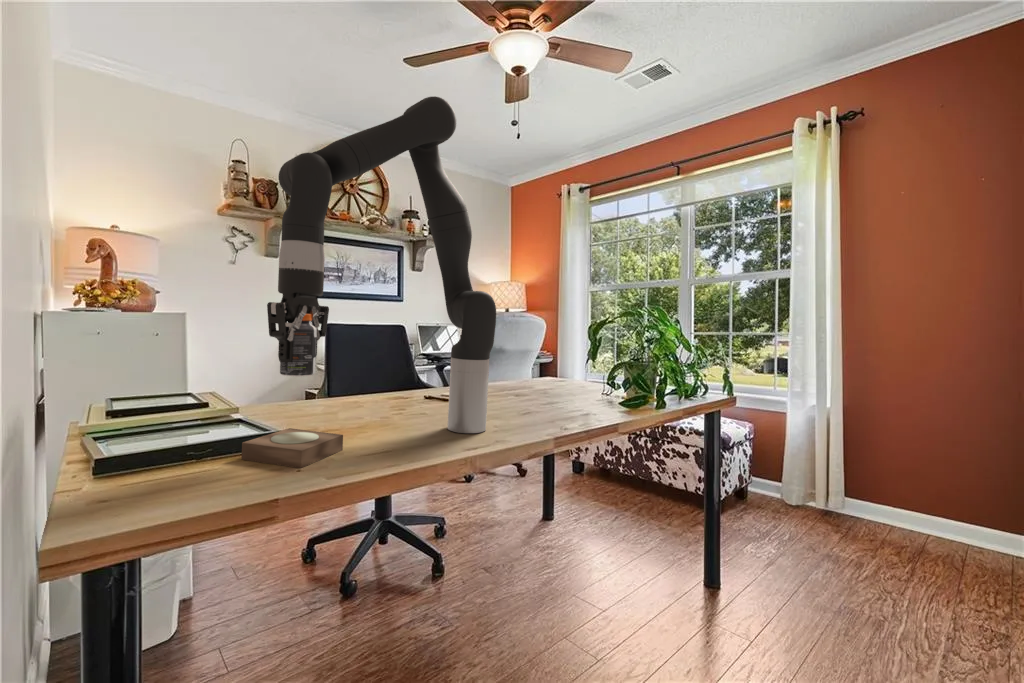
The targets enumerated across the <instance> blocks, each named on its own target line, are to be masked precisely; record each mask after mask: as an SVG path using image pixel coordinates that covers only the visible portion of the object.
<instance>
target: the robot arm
mask: <svg viewBox="0 0 1024 683" xmlns="http://www.w3.org/2000/svg"><path fill="white" fill-rule="evenodd" d="M456 128H457V116H456V112H455V110H454V108H453V106H452V105H451V104H450V103H449V102H448V101H447V100H446V99H445V98H442V97H439V96H427V97H425V98H423V99H421V100H419V101H417V102H416V103H414V104H412V105H411V106H409V107H408V108H406V109H405V111H404V113H402V114H401V115H400V116H398V117H395V118H393V119H390V120H388V121H385V122H383V123H381V124H378V125H374V126H373V127H372V126H371V127H370V128H366V129H363V130H361V131H358V132H356V133H352V134H350V135H348V136H345V137H341V138H340V139H337V140H335V141H333V142H331V143H329V144H327V145H326V146H324V147H323V148H321V149H319V150H318V149H317V150H316V151H313V152H304V153H303V152H302V153H300V154H298V155H296V156H294V157H292V158H291V159H289V160H287V161H286V162H284V163H283V164H282V166H281V167H280V169H279V171H278V182H279V186H280V187H281V189H282V190H283V192H284V193H286V194H287V195H288V196H289V204H288V207H287V209H285V210H284V211H283V212H284V213H283V214H282V218H281V237H280V238H281V239H280V241H281V242H280V248H279V253H278V274H277V275H278V277H277V278H278V279H277V292H278V293H279V294H282V298H281V300H280V302H277V301H276V302H274V301H273V302H271V301H269V302H267V303H266V307H267V309H266V310H267V323H268V334H269V337H270V338H275V339H276V340H277V341H278V354H277V356H278V360H279V362H285V363H290V362H292V360H293V342H291V341H292V340H293V337H294V335H295V331H296V330H298V329H299V328H300V325H301V322H302V320H303V317H304V316H305V315H306V314H311V315H312V321H311V324H312V325H313V326H315V327H316V329H317V340H316V357H317V355H318V341H319V340H320V338H325V337H326V336H327V330H328V329H327V328H328V321H329V313H330V308H329V306H327V305H320V304H319V301H318V300H319V297H322V296H323V295H324V284H325V283H324V282H325V260H326V259H325V258H326V257H325V249H324V248H325V246H324V244H325V243H324V242H325V220H326V216H327V212H328V210H329V204H330V201H331V200H330V199H331V195H332V192H333V191H332V189H333V187H334V186H335V185H337V184H339V183H342V182H345V181H349V180H351V179H354V178H356V177H359V176H360V175H361V176H362V175H363V174H365V173H368V172H370V171H371V170H374V169H376V168H378V167H380V166H382V165H383V164H385V163H387V162H388V161H390V160H392V159H395V158H396V157H398V156H399V155H401V154H403V153H405V152H408V153H409V156H410V159H411V161H412V165H413V167H414V170H415V171H414V172H415V173H416V176H417V177H416V178H417V180H418V186H419V188H420V193H421V196H422V199H423V203H424V208H425V211H426V217H427V222H428V225H429V230H430V233H431V236H432V237H431V238H432V240H433V244H434V249H435V254H436V258H437V261H438V265H439V269H440V274H441V278H442V285H443V293H444V294H443V295H444V301H445V306H446V312H447V315H448V318H449V320H450V322H451V324H453V325H454V326H455V327H456V328H459V329H461V333H460V338H459V340H458V342H456V343H455V344H453V345H452V346H451V348H450V350H451V352H450V353H451V354H450V369H449V370H450V372H449V374H450V375H449V389H448V390H449V391H448V393H449V394H448V410H447V411H448V412H447V430H448V431H451V432H454V433H457V434H458V433H459V434H479V433H483V432H485V431H486V429H487V414H488V394H489V393H488V391H489V375H490V374H489V373H490V355H491V352H492V349H493V348H494V347H493V346H494V343H495V334H496V326H497V325H496V324H497V306H496V302H495V300H494V298H493V296H492V295H491V294H489V293H488V292H486V291H481V290H473V289H474V288H473V286H472V283H471V277H470V273H469V258H470V253H471V246H472V238H473V236H472V235H473V233H472V232H473V231H472V226H471V220H470V217H469V211H468V209H467V205H466V203H465V199H464V198H463V196H462V195H461V194H460V192H459V191H458V189H457V188H456V187H455V185H454V184H453V182H452V181H451V179H450V178H449V177H448V175H447V173H446V171H445V168H444V165H443V162H442V158H441V154H440V149H439V145H441V144H443V143H445V142H446V141H448V140H449V139H450V138H452V136H453V135H454V133H455V131H456ZM288 322H289V323H288ZM277 327H278V328H277ZM286 328H289V331H288V333H286ZM319 328H320V329H319Z"/></svg>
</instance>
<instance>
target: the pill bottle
mask: <svg viewBox="0 0 1024 683" xmlns="http://www.w3.org/2000/svg"><path fill="white" fill-rule="evenodd" d="M311 321H312V315H311V314H306V315H305V316H304V317H303V320H302V322H301V325H300V328H299V329H298V330H296V331H295V335H294V337H293V340H292V341H291V342H293V360H292V362H290V363H285V362H280V361H279V362H280V363H279V373H280V375H282V376H284V377H285V376H286V377H309V376H314V375H315V374H316V364H317V362H316V361H317V356H316V340H317V329H316V327H315V326H313V325H312V324H311V323H312V322H311ZM287 323H289V322H288V321H287ZM288 331H289V328H286V333H288Z"/></svg>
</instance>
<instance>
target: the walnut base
mask: <svg viewBox="0 0 1024 683" xmlns="http://www.w3.org/2000/svg"><path fill="white" fill-rule="evenodd" d="M343 444H344V434H340V433H339V434H338V433H331V432H325V431H314V430H309V429H307V430H306V429H298V428H285V429H281V430H280V431H276V432H272V433H269V434H266V435H263V436H259V437H256V438H253V439H250V440H246V441H243V442H241V460H243V461H248V462H256V463H264V464H269V465H278V466H286V467H290V468H296V469H297V468H299V469H302V468H304V467H305V468H306V467H307V466H309V465H311V464H313V463H316V462H318V461H321V460H323V459H325V458H328V457H331V456H332V455H334V454H337V453H339V452H342V451H344V450H343V449H344V446H343Z"/></svg>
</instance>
